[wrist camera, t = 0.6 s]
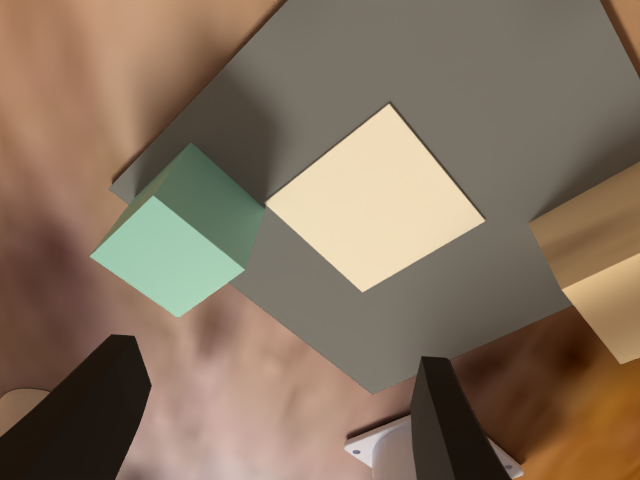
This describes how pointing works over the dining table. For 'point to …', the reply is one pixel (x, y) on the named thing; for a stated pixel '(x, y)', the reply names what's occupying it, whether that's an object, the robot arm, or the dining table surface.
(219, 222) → the teal cube
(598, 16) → the grey flat slab
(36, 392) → the coffee cup
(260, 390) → the dining table surface
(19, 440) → the robot arm
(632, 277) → the maple block
